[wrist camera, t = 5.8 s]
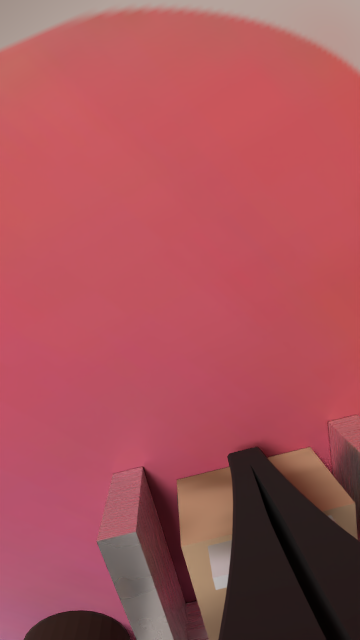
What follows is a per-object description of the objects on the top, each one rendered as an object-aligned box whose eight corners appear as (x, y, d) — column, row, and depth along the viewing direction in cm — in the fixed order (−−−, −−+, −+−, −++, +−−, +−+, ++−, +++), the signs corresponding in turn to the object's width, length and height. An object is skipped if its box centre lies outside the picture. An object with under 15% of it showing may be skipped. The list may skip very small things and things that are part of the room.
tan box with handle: (199, 564, 14) (214, 683, 10) (175, 480, 12) (181, 579, 8) (321, 534, 14) (382, 639, 10) (310, 446, 12) (378, 530, 9)
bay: (166, 626, 15) (167, 720, 12) (112, 474, 12) (95, 544, 9) (366, 576, 15) (418, 655, 12) (356, 414, 12) (420, 464, 9)
